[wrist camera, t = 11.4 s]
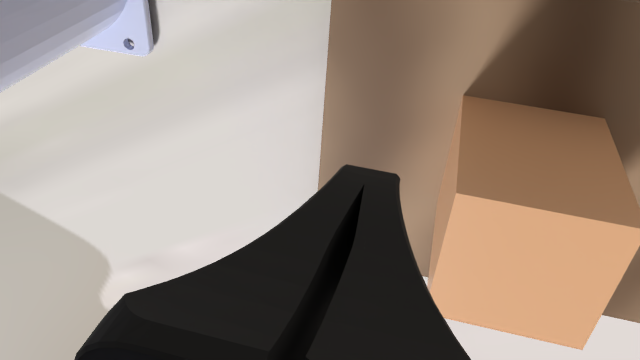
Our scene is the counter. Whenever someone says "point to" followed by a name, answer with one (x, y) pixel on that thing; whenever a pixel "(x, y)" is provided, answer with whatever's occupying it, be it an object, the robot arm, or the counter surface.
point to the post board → (474, 89)
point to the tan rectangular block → (531, 222)
